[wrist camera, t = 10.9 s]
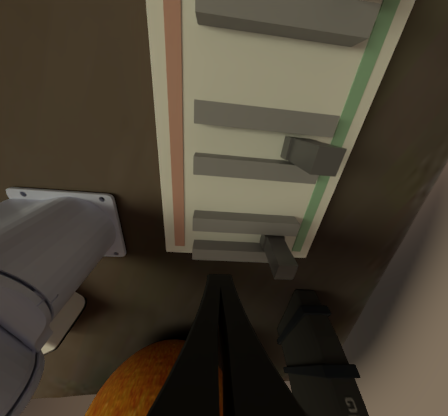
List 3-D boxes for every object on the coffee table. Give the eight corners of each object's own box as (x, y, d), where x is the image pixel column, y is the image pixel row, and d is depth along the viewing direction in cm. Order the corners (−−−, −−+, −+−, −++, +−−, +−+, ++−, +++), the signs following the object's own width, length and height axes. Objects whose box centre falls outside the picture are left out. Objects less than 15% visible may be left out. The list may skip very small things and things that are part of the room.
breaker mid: (280, 156, 14) (306, 174, 10) (285, 136, 14) (316, 145, 9) (303, 158, 15) (338, 176, 10) (309, 138, 14) (350, 149, 10)
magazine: (332, 284, 23) (400, 486, 14) (289, 300, 33) (312, 420, 24) (304, 283, 22) (356, 489, 13) (270, 300, 33) (287, 421, 24)
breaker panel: (169, 242, 20) (162, 261, 18) (145, -116, 9) (116, -210, 6) (300, 249, 22) (311, 267, 19) (421, -59, 10) (491, -118, 8)
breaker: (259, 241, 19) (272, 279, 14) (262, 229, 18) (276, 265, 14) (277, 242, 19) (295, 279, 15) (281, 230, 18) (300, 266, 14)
